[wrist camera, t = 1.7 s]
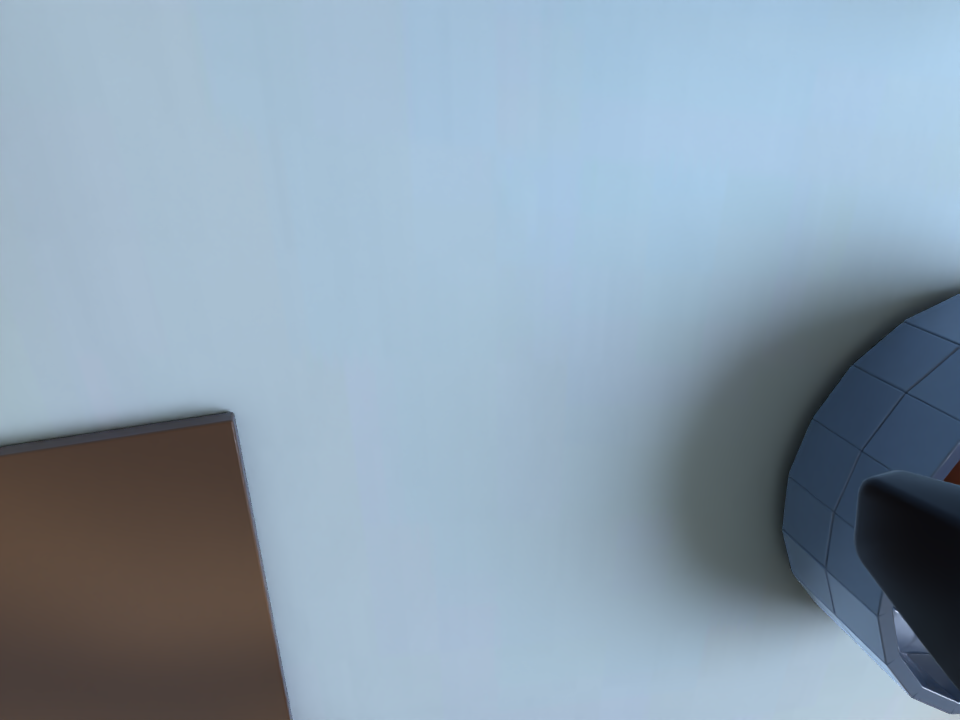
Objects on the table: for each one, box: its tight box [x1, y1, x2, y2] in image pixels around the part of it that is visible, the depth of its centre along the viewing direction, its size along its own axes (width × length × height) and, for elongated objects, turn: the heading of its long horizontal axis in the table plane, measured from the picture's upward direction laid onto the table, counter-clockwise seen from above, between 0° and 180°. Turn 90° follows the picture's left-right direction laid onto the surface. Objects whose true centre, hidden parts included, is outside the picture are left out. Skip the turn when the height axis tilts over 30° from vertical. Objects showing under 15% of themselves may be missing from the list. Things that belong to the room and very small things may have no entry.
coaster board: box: [0, 412, 293, 720], centre depth 21 cm, size 14×14×1 cm
